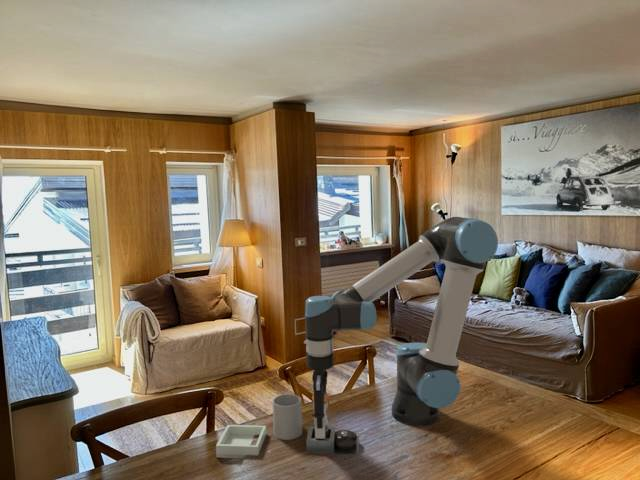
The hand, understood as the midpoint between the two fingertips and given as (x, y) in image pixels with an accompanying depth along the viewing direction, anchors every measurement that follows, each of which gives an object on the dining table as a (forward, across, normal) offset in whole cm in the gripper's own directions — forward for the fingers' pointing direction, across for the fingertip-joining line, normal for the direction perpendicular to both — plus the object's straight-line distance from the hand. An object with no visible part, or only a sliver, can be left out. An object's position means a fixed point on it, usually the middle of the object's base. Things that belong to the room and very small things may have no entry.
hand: (321, 432), depth 135 cm
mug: (+5, -8, -10) cm, 14 cm away
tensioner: (+4, 0, +4) cm, 6 cm away
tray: (+4, +1, -22) cm, 23 cm away
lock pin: (+3, 0, 0) cm, 3 cm away
